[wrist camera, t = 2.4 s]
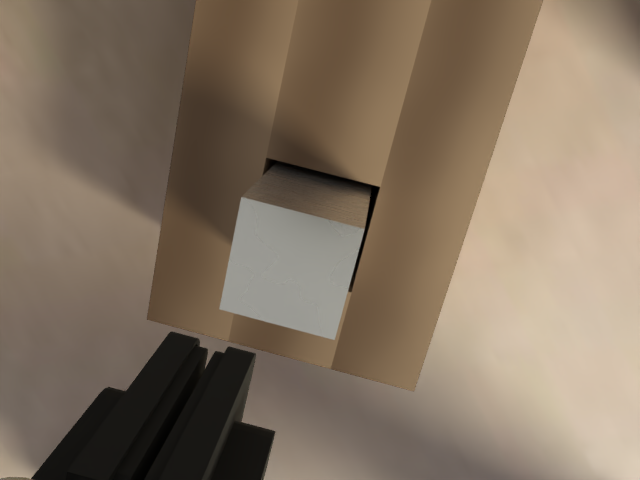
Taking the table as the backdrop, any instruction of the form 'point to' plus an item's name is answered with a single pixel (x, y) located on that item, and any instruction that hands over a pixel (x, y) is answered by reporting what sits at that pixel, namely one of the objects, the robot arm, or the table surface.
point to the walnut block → (339, 156)
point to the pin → (296, 248)
